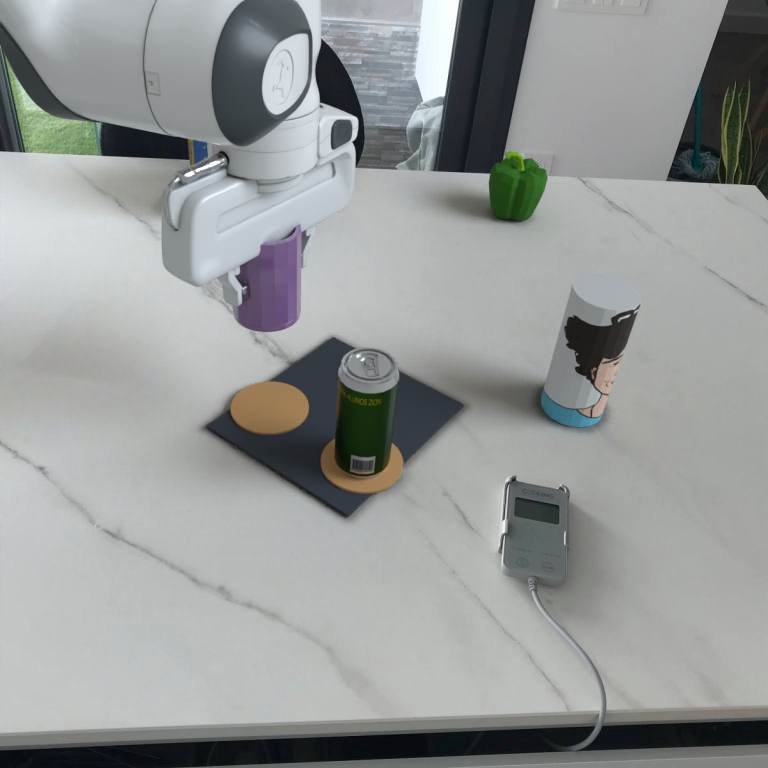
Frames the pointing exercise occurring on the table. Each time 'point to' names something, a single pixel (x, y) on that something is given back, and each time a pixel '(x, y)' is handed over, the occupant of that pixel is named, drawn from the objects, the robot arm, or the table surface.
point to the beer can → (365, 412)
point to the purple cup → (272, 286)
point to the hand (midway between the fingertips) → (266, 283)
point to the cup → (589, 347)
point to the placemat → (325, 427)
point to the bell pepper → (516, 187)
